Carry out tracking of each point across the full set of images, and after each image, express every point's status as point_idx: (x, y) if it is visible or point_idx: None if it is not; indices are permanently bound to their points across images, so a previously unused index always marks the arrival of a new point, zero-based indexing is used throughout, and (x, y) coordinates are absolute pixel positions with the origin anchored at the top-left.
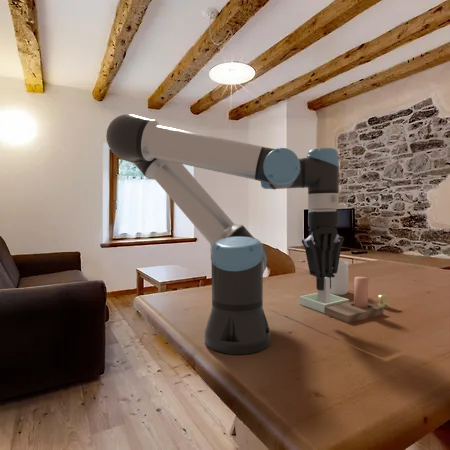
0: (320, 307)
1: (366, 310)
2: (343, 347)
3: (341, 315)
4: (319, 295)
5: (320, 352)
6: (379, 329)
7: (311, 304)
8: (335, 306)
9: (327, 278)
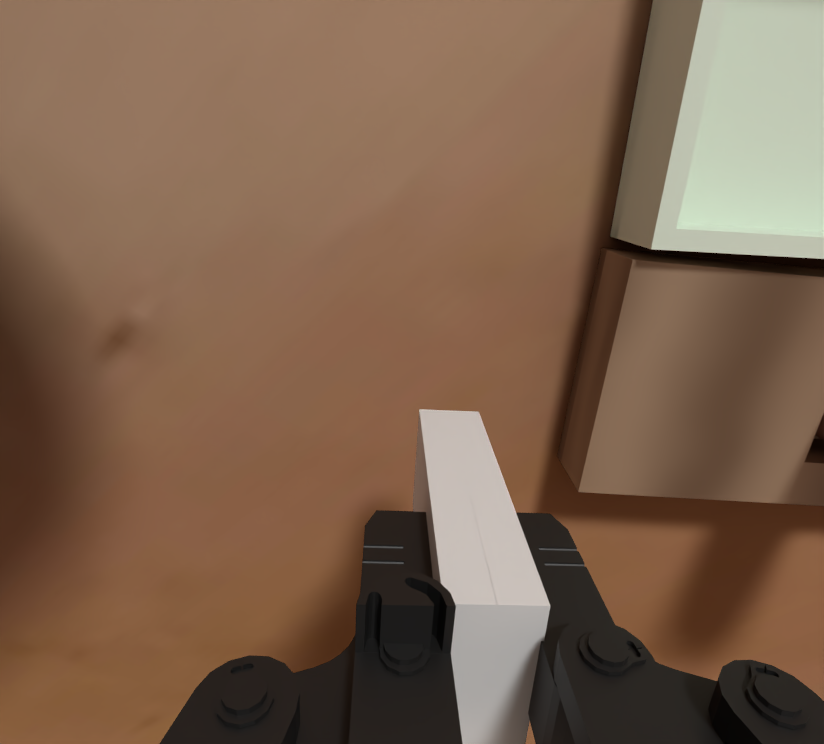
0: (643, 192)
1: (792, 491)
2: (259, 623)
3: (585, 429)
4: (422, 460)
5: (109, 607)
6: (633, 582)
7: (669, 55)
8: (723, 297)
9: (471, 735)
